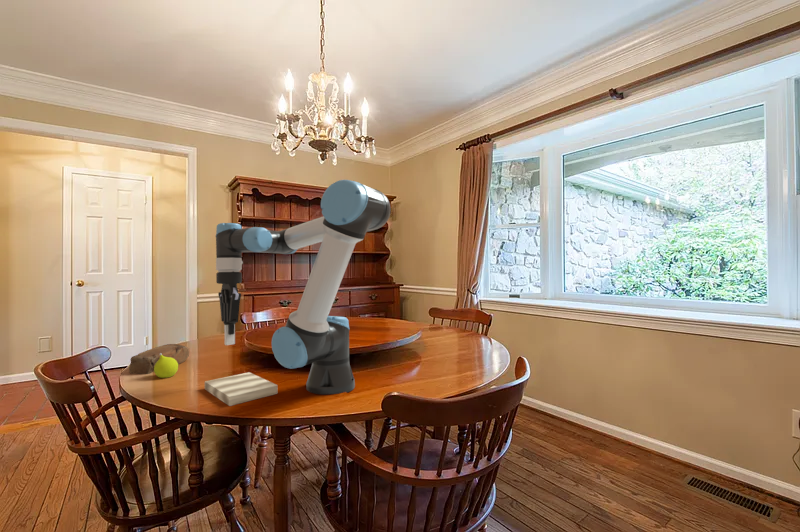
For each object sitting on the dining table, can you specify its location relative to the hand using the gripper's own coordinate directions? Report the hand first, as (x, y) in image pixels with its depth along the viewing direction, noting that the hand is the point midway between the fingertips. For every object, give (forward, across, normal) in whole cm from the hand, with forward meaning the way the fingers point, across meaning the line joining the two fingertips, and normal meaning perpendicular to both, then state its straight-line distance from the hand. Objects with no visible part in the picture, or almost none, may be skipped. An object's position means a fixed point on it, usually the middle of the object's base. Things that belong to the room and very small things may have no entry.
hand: (229, 344), depth 118 cm
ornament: (+13, +24, +12) cm, 30 cm away
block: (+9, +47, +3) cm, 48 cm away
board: (+13, -8, 0) cm, 16 cm away
